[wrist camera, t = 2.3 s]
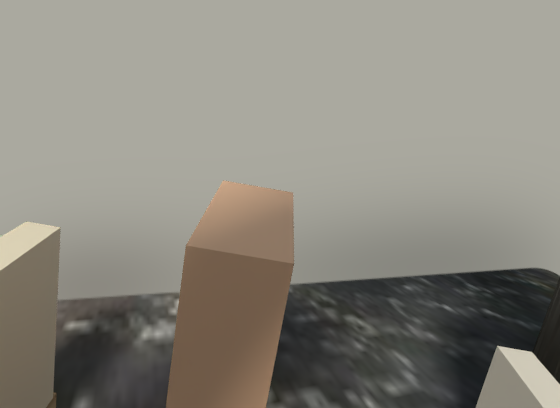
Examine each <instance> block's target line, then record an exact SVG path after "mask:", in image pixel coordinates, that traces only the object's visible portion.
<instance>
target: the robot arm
mask: <svg viewBox="0 0 560 408" xmlns="http://www.w3.org/2000/svg"><path fill="white" fill-rule="evenodd" d="M476 408H560V278H559V281H558V284H557V286H556V289H555V292H554V295H553V297H552V300H551V303H550V306H549V308H548V311H547V314H546V317H545V319H544V322H543V325H542V328H541V330H540V333H539V336H538V339H537V341H536V344H535V347H534V349H533V352H529V351H523V350H518V349H512V348H506V347H501V346H497V348H496V351H495V353H494V356H493V359H492V362H491V365H490V368H489V370H488V373H487V376H486V379H485V382H484V385H483V388H482V390H481V393H480V396H479V399H478V402H477V405H476Z"/></svg>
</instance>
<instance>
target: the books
mask: <svg viewBox="0 0 560 408" xmlns="http://www.w3.org/2000/svg"><path fill="white" fill-rule="evenodd" d="M59 250H60V227H55V226H49V225H43V224H37V223H31V222H25V223H23V224H22V225H20V226H18V227H17V228H15V229H13V230H12V231H10V232H8V233H7V234H5V235H0V408H46V407H47V406H48V404H49V403H50V401H51V400H52V399H53V386H54V363H55V341H56V318H57V295H58V272H59Z"/></svg>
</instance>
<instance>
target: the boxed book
mask: <svg viewBox="0 0 560 408" xmlns="http://www.w3.org/2000/svg"><path fill="white" fill-rule="evenodd" d="M293 228H294V226H293V193H292V192H287V191H281V190H275V189H269V188H263V187H258V186H252V185H246V184H240V183H234V182H229V181H223V182H222V183H221V185H220V187H219V189H218V191H217V192H216V194H215V196H214V197H213V199H212V201H211V203H210V204H209V206H208V208H207V210H206V211H205V213H204V215H203V217H202V218H201V220H200V222H199V224H198V226H197V227H196V229H195V231H194V233H193V234H192V236H191V238H190V239H189V241H188V243H187V245H186V249H185V257H184V265H183V273H182V282H181V290H180V297H179V305H178V313H177V321H176V329H175V337H174V345H173V353H172V361H171V369H170V377H169V385H168V393H167V401H166V408H266V404H267V399H268V394H269V389H270V384H271V378H272V373H273V368H274V363H275V358H276V353H277V348H278V343H279V338H280V333H281V327H282V322H283V317H284V312H285V307H286V302H287V297H288V292H289V287H290V281H291V276H292V271H293V266H294V232H293V231H294V230H293Z"/></svg>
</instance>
